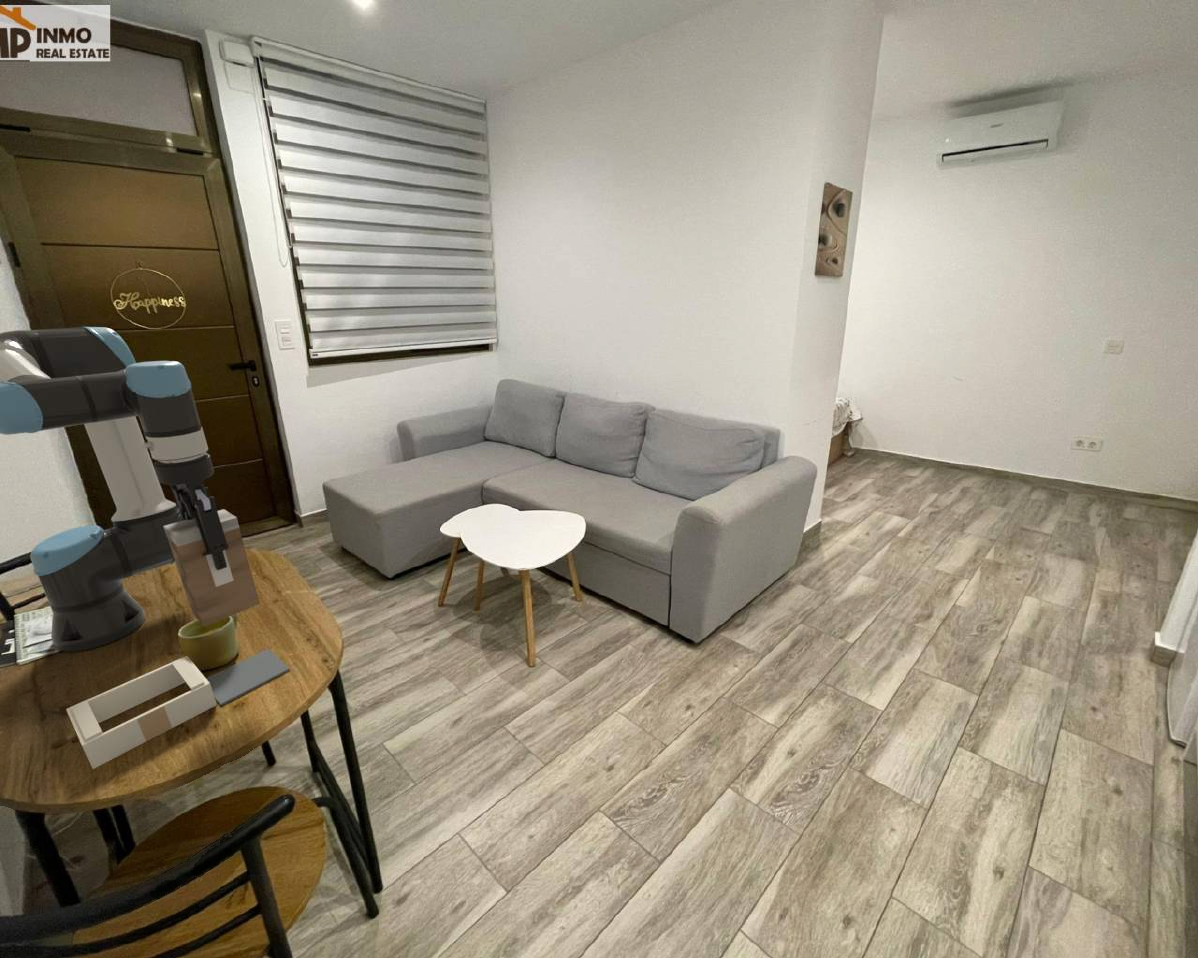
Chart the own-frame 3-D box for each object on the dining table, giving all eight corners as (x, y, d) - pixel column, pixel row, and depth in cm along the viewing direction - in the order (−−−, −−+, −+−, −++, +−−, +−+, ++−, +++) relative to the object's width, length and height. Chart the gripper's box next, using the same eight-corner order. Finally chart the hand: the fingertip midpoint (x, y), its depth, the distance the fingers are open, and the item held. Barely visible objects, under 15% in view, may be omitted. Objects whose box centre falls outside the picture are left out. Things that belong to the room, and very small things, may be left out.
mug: (212, 674, 101) (196, 626, 100) (175, 680, 104) (159, 633, 103) (267, 645, 113) (253, 602, 112) (233, 651, 116) (218, 609, 115)
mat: (202, 682, 102) (201, 680, 102) (268, 649, 111) (268, 648, 110) (221, 705, 96) (220, 704, 96) (289, 669, 105) (289, 668, 105)
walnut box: (192, 614, 96) (163, 526, 90) (247, 592, 103) (223, 509, 97) (204, 626, 93) (174, 535, 86) (260, 603, 99) (236, 517, 93)
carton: (76, 731, 91) (65, 707, 89) (194, 676, 103) (186, 653, 101) (92, 769, 83) (81, 743, 82) (217, 704, 96) (209, 681, 94)
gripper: (137, 451, 90) (175, 569, 98) (172, 474, 79) (212, 604, 87) (189, 441, 96) (221, 553, 104) (228, 461, 85) (261, 585, 93)
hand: (217, 576), depth 95 cm, fingers closed on walnut box, 6 cm apart
